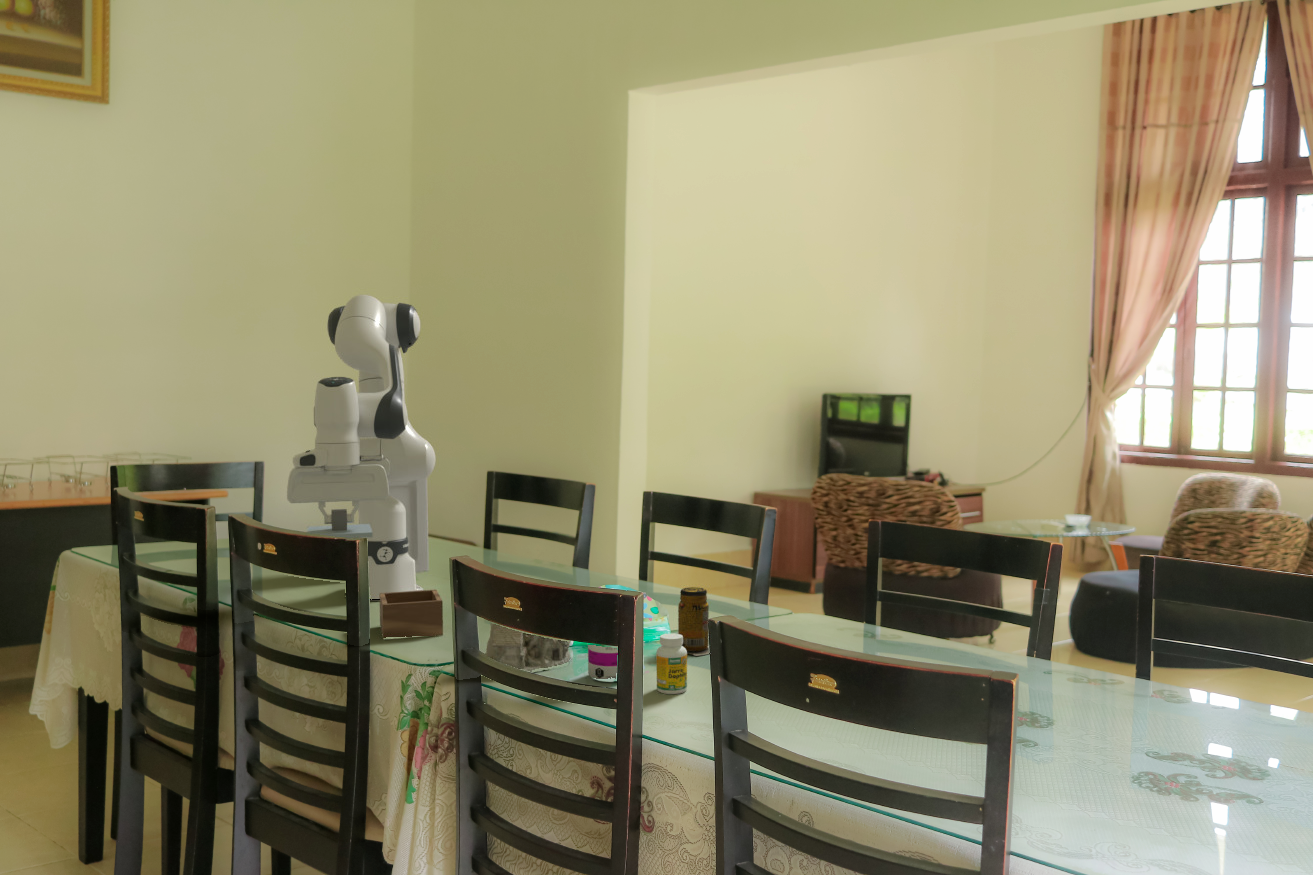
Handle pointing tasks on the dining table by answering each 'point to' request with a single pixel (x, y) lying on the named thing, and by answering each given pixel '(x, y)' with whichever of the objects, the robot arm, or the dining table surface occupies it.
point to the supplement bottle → (671, 664)
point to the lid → (342, 527)
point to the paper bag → (414, 518)
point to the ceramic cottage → (525, 649)
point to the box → (411, 613)
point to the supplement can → (602, 662)
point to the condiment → (694, 620)
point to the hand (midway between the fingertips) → (339, 523)
